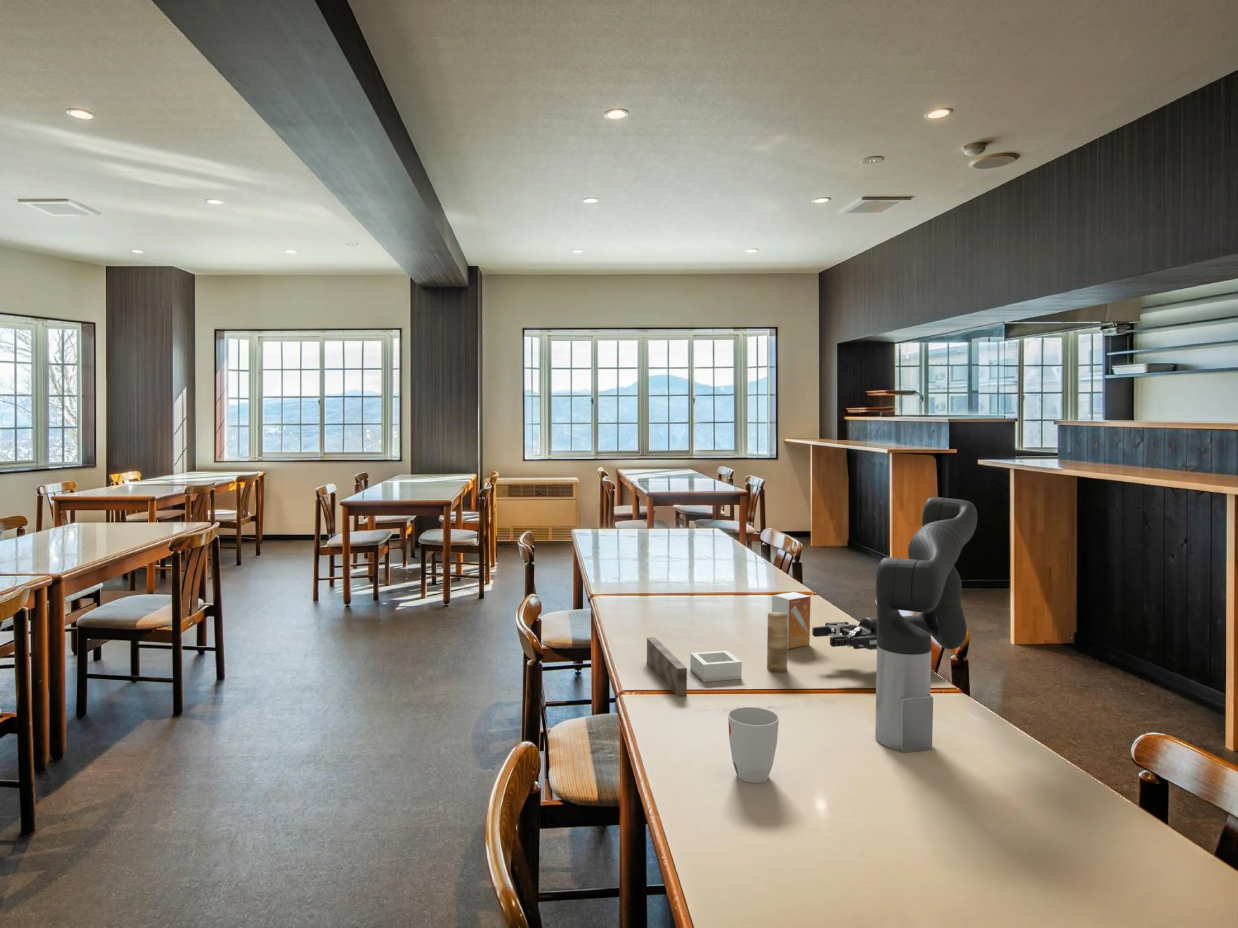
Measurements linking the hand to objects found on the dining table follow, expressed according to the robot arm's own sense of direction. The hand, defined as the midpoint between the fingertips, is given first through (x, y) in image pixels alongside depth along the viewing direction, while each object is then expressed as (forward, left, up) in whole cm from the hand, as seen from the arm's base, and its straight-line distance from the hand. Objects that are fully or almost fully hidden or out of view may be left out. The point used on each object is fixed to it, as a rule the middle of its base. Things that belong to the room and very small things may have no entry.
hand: (821, 636), depth 180 cm
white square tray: (0, +26, -7) cm, 27 cm away
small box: (+22, -3, -8) cm, 24 cm away
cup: (-47, +37, -8) cm, 61 cm away
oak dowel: (0, +11, -8) cm, 14 cm away
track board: (0, +29, -8) cm, 30 cm away
